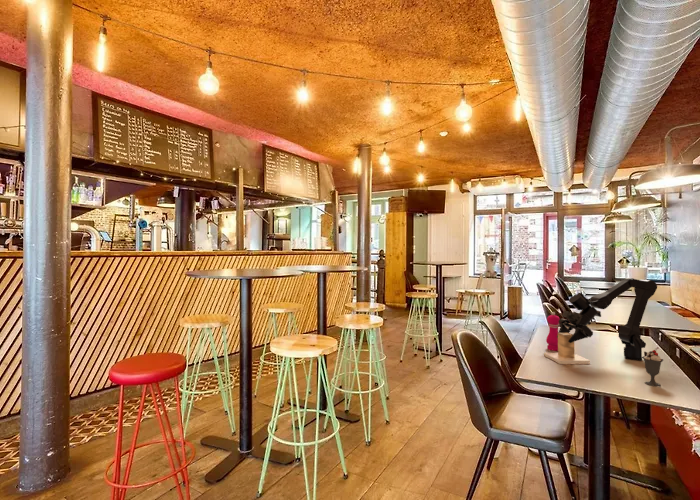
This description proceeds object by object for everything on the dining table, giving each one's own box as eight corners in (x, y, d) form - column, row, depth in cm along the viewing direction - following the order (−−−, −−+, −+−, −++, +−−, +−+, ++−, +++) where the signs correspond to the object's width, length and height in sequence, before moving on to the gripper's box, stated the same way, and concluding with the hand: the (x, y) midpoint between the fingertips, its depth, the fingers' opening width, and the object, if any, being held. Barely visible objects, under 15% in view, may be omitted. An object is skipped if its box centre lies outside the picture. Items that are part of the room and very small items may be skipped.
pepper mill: (563, 351, 193) (563, 313, 194) (548, 350, 195) (548, 313, 195) (558, 348, 201) (558, 311, 201) (544, 347, 202) (544, 310, 202)
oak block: (568, 354, 182) (567, 332, 182) (574, 357, 177) (574, 334, 177) (558, 355, 181) (557, 332, 181) (564, 358, 176) (564, 335, 176)
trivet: (571, 355, 186) (571, 352, 186) (590, 363, 172) (589, 360, 172) (544, 355, 186) (544, 352, 186) (560, 364, 172) (560, 360, 172)
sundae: (665, 388, 140) (665, 349, 140) (643, 385, 144) (642, 346, 144) (662, 383, 146) (661, 345, 146) (640, 380, 149) (640, 343, 150)
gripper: (561, 302, 189) (540, 324, 188) (586, 308, 170) (563, 332, 170) (577, 317, 189) (556, 339, 188) (603, 325, 170) (580, 349, 170)
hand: (563, 339), depth 179 cm, fingers open, 9 cm apart
